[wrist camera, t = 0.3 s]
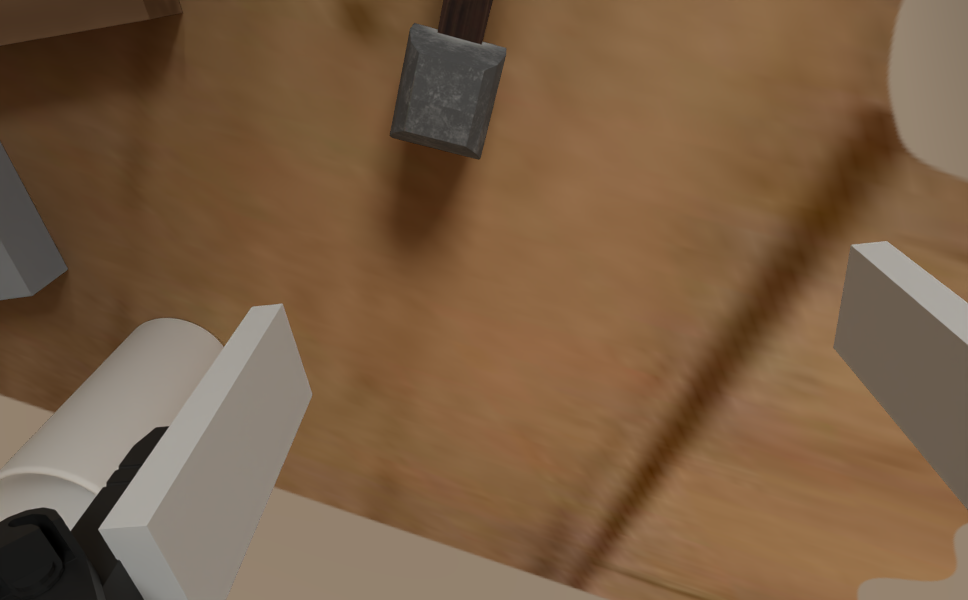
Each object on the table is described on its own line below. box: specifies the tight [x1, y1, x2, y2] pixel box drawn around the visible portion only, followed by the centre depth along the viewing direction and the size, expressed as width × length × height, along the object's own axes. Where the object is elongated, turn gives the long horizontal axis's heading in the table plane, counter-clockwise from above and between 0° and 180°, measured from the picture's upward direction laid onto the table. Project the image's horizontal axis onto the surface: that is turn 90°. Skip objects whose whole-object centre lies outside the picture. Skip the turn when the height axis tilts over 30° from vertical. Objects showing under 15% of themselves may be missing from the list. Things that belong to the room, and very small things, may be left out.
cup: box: [0, 318, 224, 531], centre depth 43 cm, size 8×8×16 cm
